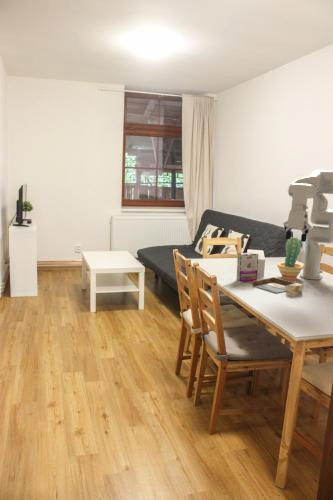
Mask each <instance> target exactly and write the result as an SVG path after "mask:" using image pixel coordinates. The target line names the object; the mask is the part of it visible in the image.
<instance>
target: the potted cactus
mask: <svg viewBox="0 0 333 500" xmlns="http://www.w3.org/2000/svg"><path fill="white" fill-rule="evenodd" d="M286 240H287V241H286V242H285V260H284V262H278V263H277V264H276V266H277V268H278V271H279V273H280V275H281V279H283V280H288V281H289V280H290V281H294V280H295V281H296V280H297V279H298V276H300V274H301V272H302V271H303V265H304V264H300V263H296V261H297V259H298V256H299V255H300V253H301V250H302V249H303V247H304V242H301V238H300V239H299V238H298V237H295V236H293V237H292V236H291V239H286Z"/></svg>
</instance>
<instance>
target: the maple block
mask: <svg viewBox="0 0 333 500" xmlns="http://www.w3.org/2000/svg"><path fill="white" fill-rule="evenodd" d="M294 283H295V284H290V285H287V289H286V292H285V295H287V294H288V296H291V297H294V296H298V295H303V287H304V285H303V284H300V283H298V282H294Z"/></svg>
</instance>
